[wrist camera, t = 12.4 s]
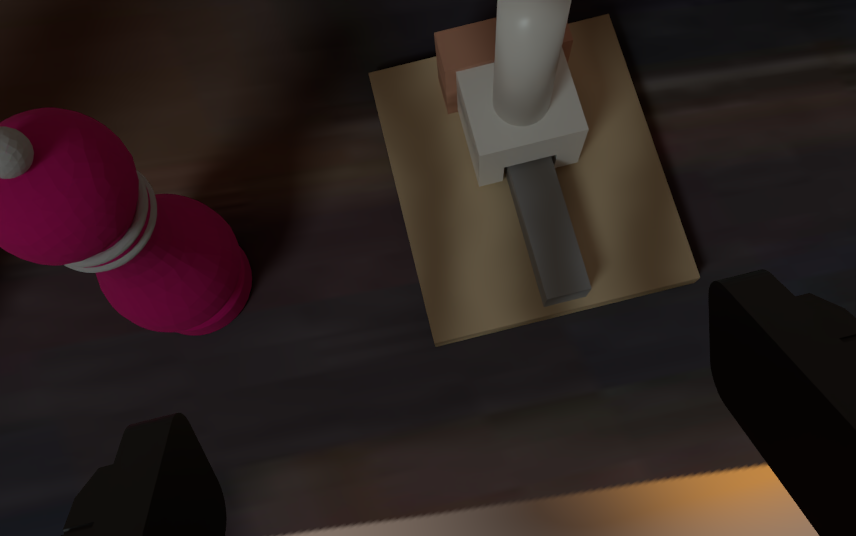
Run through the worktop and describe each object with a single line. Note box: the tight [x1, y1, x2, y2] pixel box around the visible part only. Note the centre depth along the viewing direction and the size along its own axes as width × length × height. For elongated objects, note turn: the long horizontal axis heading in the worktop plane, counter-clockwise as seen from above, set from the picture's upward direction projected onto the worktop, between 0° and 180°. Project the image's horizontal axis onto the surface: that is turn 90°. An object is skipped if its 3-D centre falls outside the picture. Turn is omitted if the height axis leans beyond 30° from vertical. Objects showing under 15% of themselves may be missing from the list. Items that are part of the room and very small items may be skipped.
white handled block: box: [456, 0, 589, 187], centre depth 37 cm, size 6×5×13 cm
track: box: [368, 14, 700, 347], centre depth 42 cm, size 15×17×6 cm
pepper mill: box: [0, 107, 252, 335], centre depth 35 cm, size 7×7×20 cm
